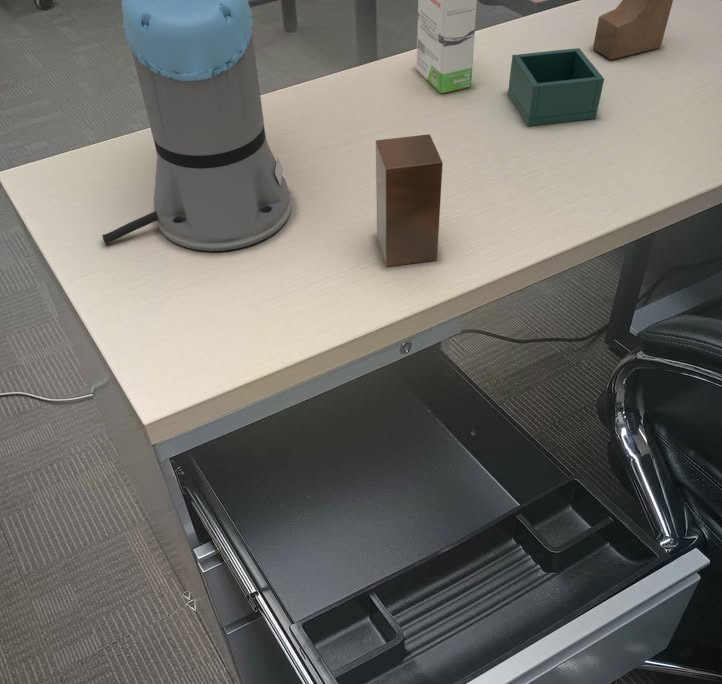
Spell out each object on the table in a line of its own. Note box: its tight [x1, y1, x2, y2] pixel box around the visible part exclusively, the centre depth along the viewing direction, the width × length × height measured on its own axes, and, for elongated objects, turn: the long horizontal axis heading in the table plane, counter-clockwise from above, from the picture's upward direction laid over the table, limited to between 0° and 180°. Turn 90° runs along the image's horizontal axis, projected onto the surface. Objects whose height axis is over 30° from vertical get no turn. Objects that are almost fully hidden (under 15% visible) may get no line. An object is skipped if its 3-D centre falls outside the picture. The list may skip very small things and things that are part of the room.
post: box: [375, 133, 443, 267], centre depth 78 cm, size 6×6×11 cm
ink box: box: [415, 0, 478, 94], centre depth 102 cm, size 9×5×12 cm, turn 21°
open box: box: [507, 47, 605, 127], centre depth 99 cm, size 9×9×5 cm
